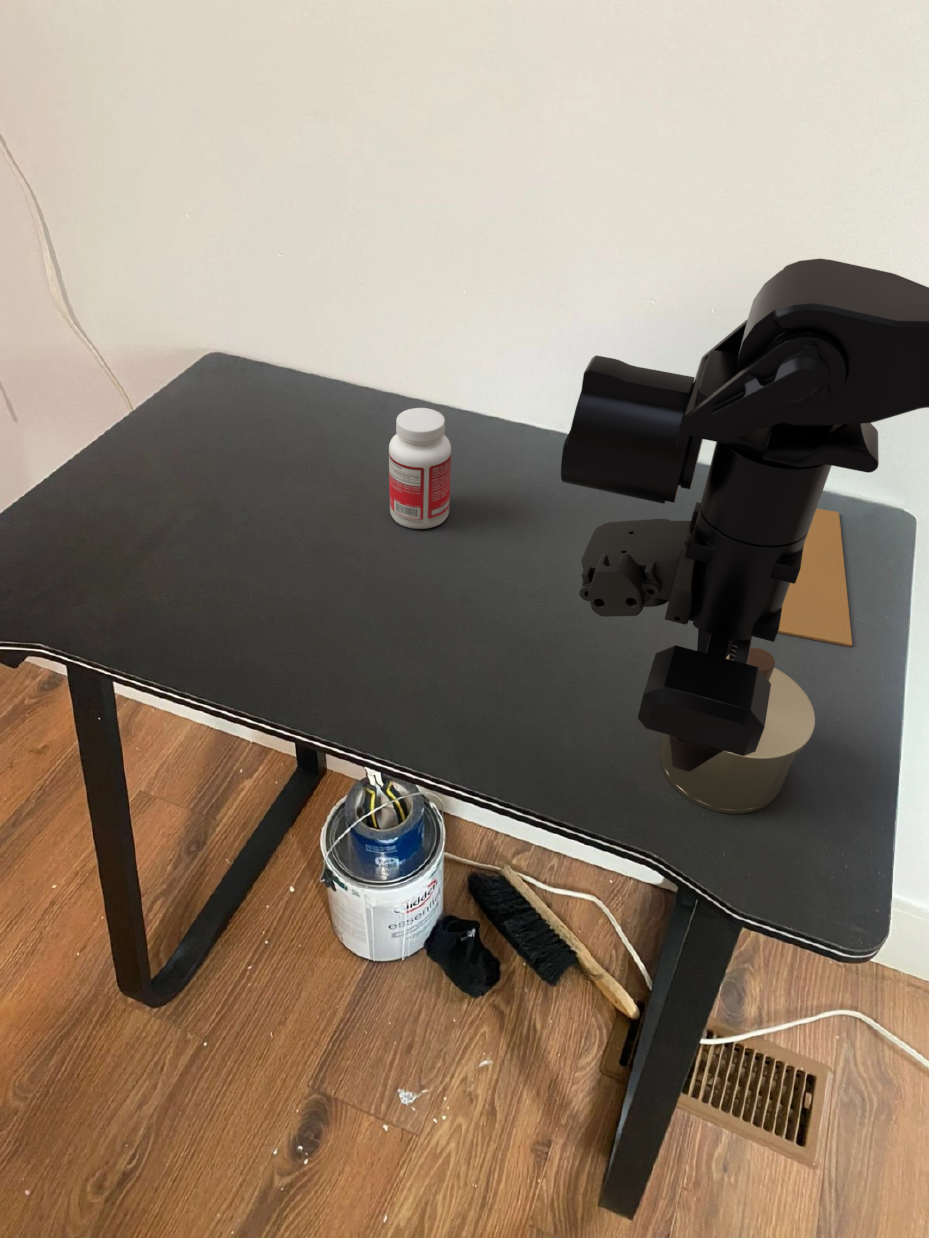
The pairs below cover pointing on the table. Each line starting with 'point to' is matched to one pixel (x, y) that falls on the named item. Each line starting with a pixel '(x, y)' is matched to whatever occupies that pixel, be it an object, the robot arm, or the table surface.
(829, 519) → the mat
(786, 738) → the lid
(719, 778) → the pot
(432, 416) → the pill bottle
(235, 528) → the table surface
